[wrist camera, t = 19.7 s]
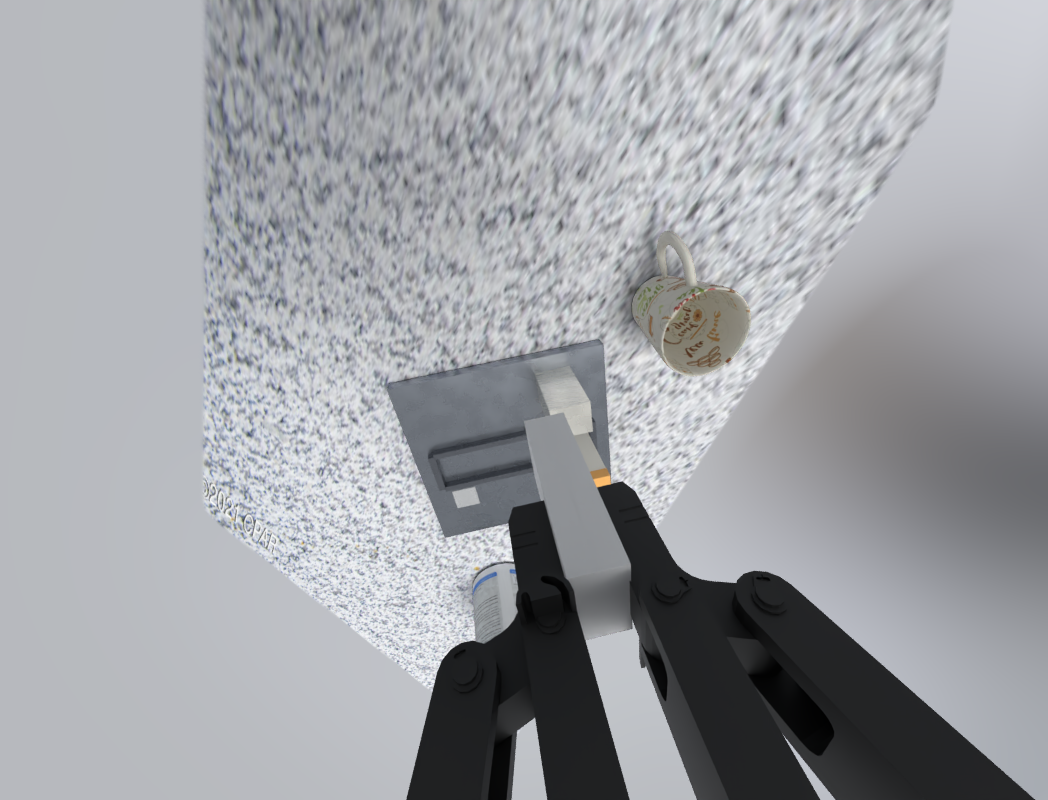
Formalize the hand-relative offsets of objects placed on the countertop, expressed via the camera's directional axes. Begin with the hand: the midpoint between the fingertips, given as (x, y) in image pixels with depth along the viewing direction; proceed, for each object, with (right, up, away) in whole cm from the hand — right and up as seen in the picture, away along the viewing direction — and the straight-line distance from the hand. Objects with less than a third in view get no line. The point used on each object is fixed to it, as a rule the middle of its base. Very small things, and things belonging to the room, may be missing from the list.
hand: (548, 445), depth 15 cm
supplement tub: (-4, -27, +49) cm, 56 cm away
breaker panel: (-2, -4, +35) cm, 35 cm away
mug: (+13, +14, +27) cm, 34 cm away
